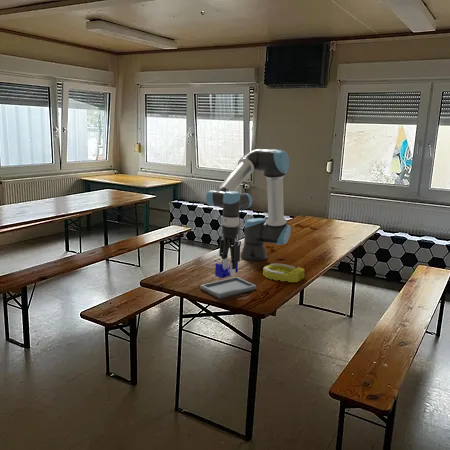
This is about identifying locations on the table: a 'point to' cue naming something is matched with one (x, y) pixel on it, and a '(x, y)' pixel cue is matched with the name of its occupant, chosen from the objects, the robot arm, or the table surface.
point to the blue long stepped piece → (221, 272)
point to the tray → (227, 287)
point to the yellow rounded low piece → (283, 272)
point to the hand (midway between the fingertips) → (228, 273)
